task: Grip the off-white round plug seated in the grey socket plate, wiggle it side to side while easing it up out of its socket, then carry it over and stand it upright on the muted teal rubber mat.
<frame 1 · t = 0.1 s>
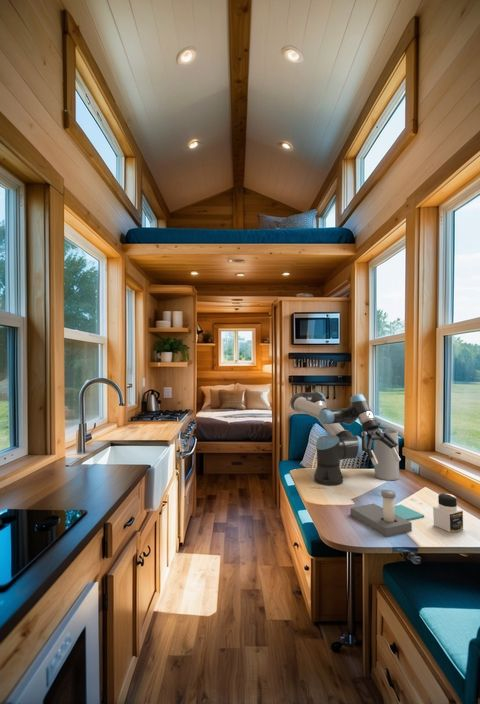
hand: (387, 462, 169), 15 cm above the table, tool tilted 35°, fingers open, 13 cm apart
plug: (389, 528, 136), resting in grey socket plate
mat: (401, 513, 148), on the table
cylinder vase: (386, 477, 196), on the table
grey socket plate: (379, 522, 140), on the table
medicine bottle: (448, 527, 136), on the table
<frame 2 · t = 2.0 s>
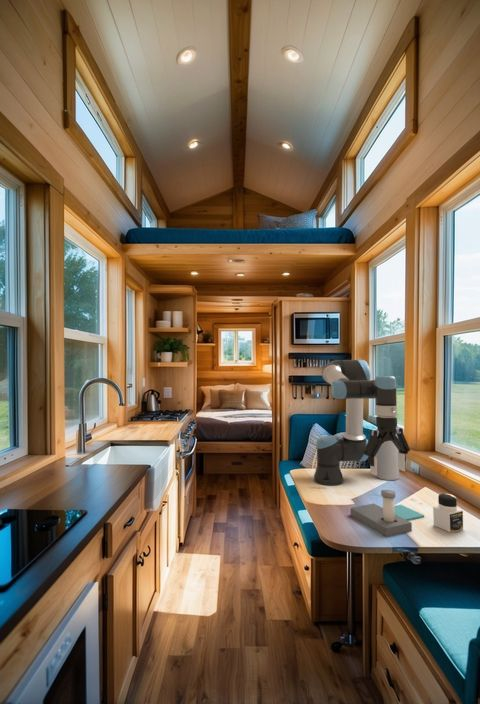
hand: (387, 472, 136), 21 cm above the table, tool pointing down, fingers open, 13 cm apart
nothing on the table moved.
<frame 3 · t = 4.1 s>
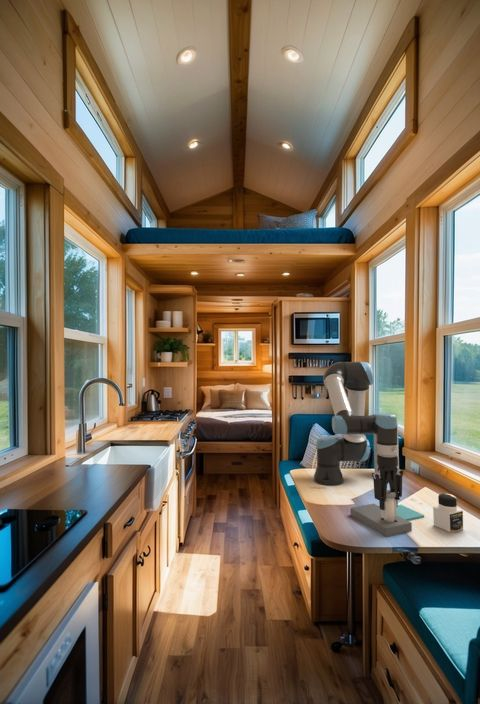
hand: (388, 516, 136), 4 cm above the table, tool pointing down, fingers closed on plug, 4 cm apart
plug: (389, 527, 136), resting in grey socket plate, touching gripper
everything else where it was.
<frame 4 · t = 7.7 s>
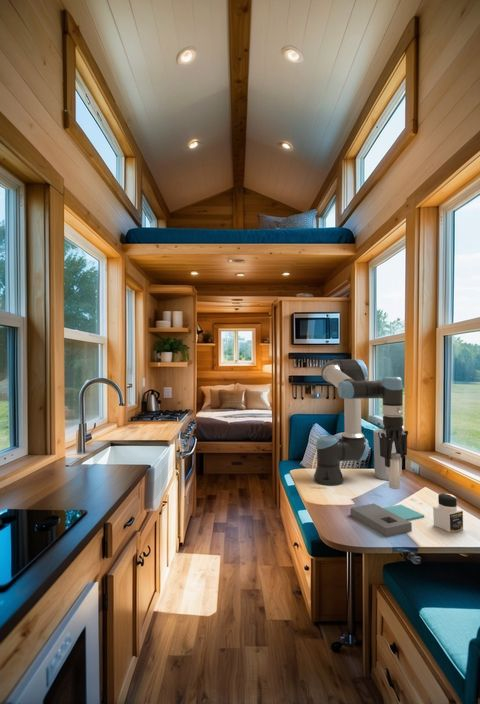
hand: (394, 474, 143), 18 cm above the table, tool pointing down, fingers closed on plug, 4 cm apart
plug: (394, 487, 143), point 13 cm above the table, touching gripper
everything else where it was.
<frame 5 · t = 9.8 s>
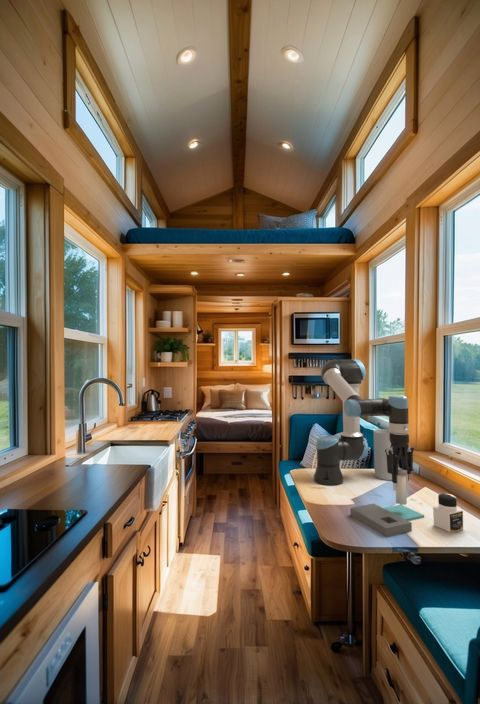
hand: (400, 489, 148), 10 cm above the table, tool pointing down, fingers closed on plug, 4 cm apart
plug: (401, 502, 148), point 5 cm above the table, touching gripper
everything else where it was.
when the fingers open (6 cm above the table, at t = 11.2 s): plug stays where it is, resting on mat.
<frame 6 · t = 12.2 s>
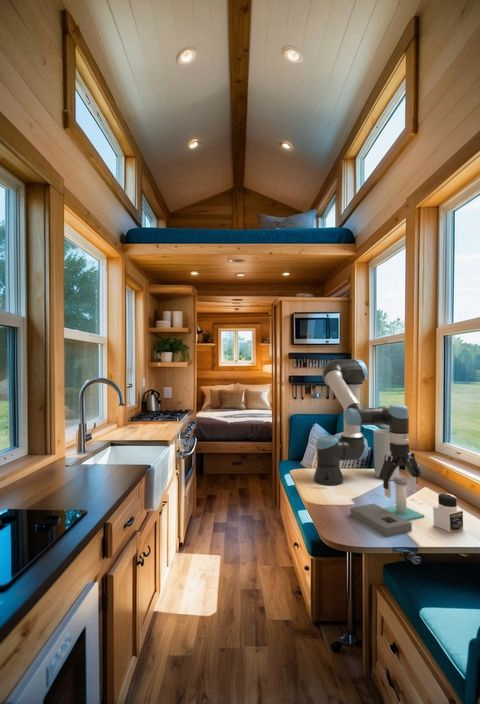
hand: (400, 494, 148), 8 cm above the table, tool pointing down, fingers open, 13 cm apart
plug: (401, 512, 148), point 1 cm above the table, touching mat
everything else where it was.
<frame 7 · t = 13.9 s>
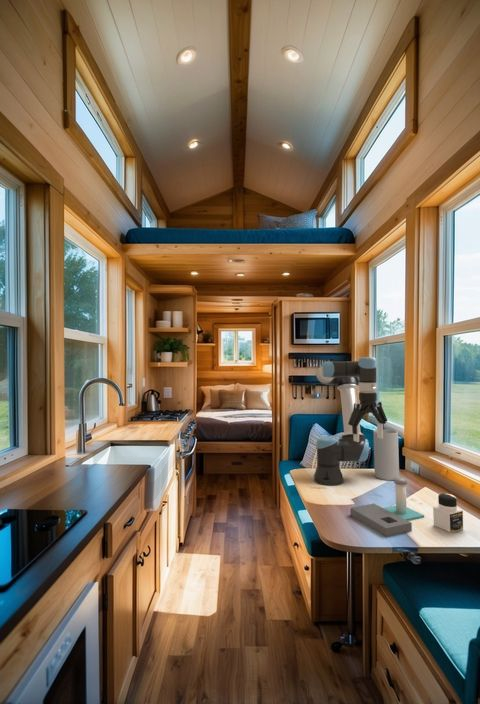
hand: (368, 439, 159), 29 cm above the table, tool pointing down, fingers open, 13 cm apart
nothing on the table moved.
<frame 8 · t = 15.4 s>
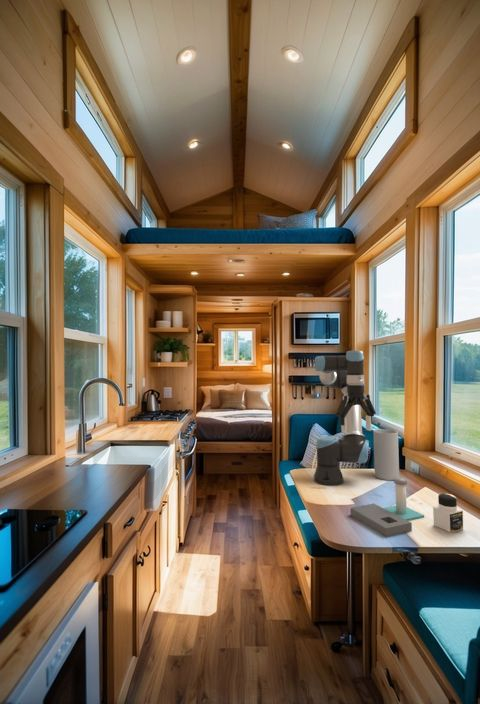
hand: (356, 431, 162), 32 cm above the table, tool pointing down, fingers open, 13 cm apart
nothing on the table moved.
at the end: plug inside the target area on the mat (0.1 cm from its centre), point 0.8 cm above the mat's base; plug tilted 0°; the gripper is holding nothing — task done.
